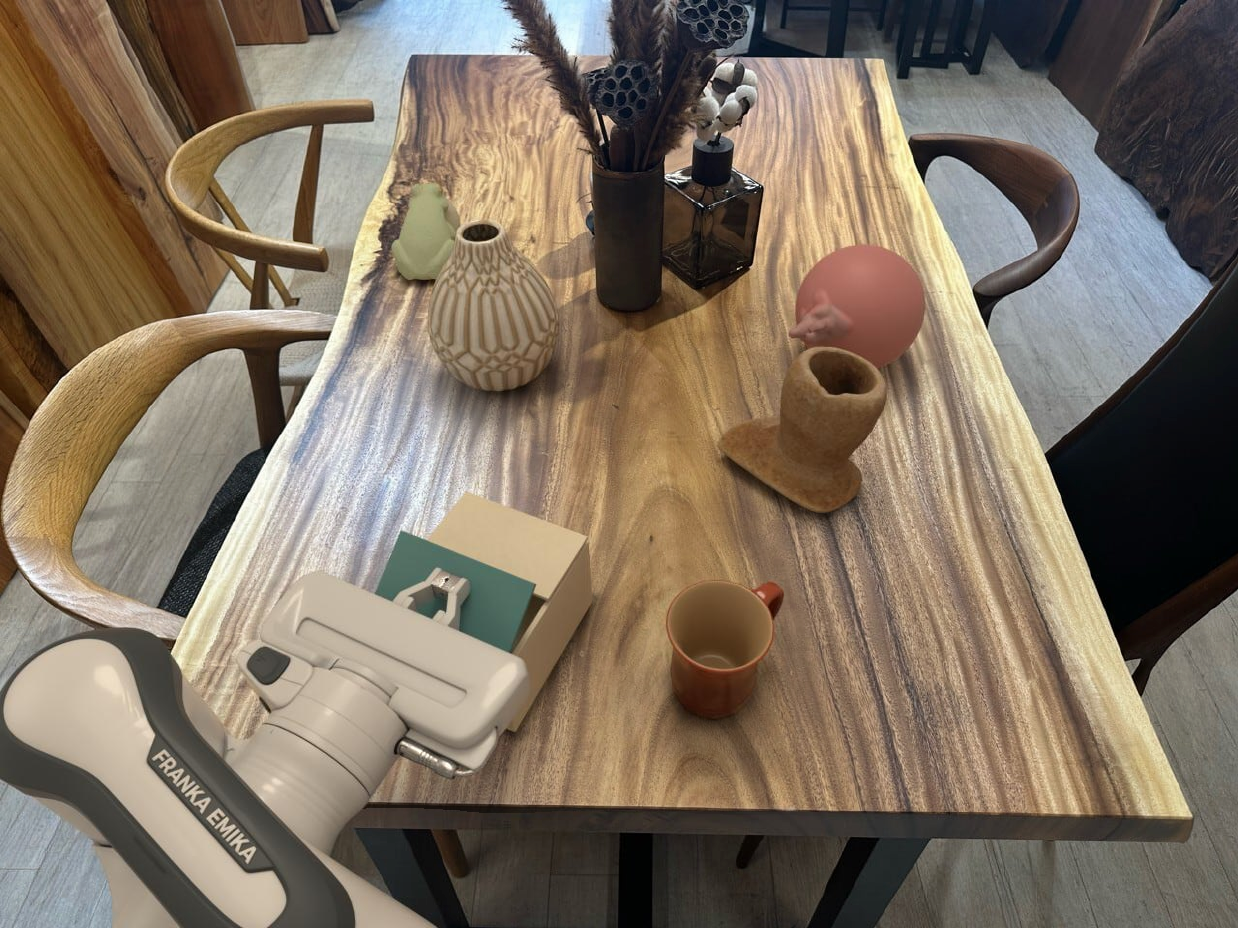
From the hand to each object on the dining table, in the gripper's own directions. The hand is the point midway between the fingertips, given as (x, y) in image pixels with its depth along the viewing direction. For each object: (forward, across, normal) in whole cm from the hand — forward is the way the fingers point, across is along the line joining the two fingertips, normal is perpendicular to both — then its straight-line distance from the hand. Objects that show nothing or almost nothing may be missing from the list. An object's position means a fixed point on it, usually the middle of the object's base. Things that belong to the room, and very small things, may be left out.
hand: (454, 577), depth 64 cm
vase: (+38, +21, +14) cm, 45 cm away
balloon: (+57, -18, +14) cm, 61 cm away
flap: (-1, 0, +2) cm, 2 cm away
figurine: (+57, +44, +14) cm, 73 cm away
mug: (+9, -21, +14) cm, 27 cm away
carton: (+3, 0, +14) cm, 14 cm away
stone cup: (+37, -19, +14) cm, 44 cm away
